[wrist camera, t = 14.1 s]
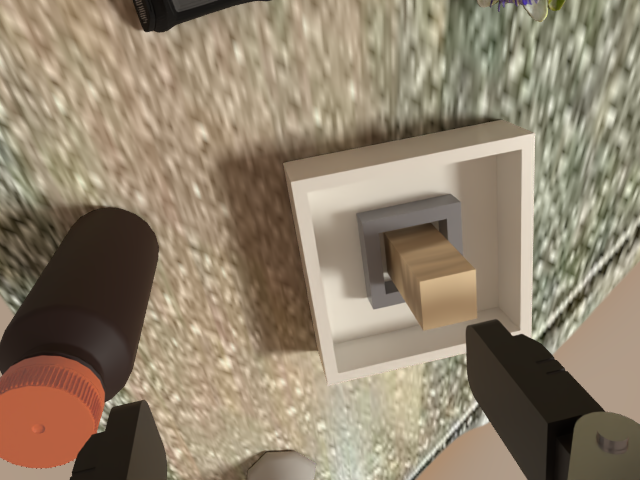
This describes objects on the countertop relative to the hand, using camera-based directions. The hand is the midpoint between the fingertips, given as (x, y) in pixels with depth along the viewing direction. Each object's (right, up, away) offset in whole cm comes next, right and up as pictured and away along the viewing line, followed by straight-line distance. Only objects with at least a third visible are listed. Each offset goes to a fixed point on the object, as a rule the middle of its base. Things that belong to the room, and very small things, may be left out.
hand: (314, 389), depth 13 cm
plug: (+8, +3, +32) cm, 33 cm away
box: (+7, +3, +33) cm, 34 cm away
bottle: (-16, +3, +29) cm, 33 cm away
